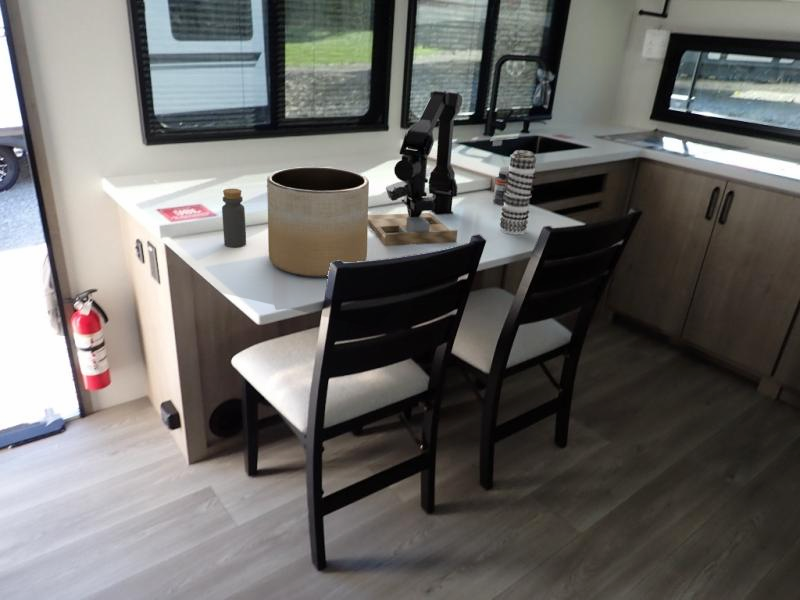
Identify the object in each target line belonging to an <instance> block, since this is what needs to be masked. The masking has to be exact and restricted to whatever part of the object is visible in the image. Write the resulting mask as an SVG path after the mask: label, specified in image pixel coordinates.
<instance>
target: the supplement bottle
mask: <svg viewBox="0 0 800 600" xmlns="http://www.w3.org/2000/svg"><path fill="white" fill-rule="evenodd" d="M508 172H509V171H505V170H504V171H503V170H502V171H499V173H498V177H495V183H494V189H493V190H494V191H493V198H492V201H493V203H494V204H496V203H498V204H497V205H501V204H504V202H505V197H506V195H505V193H504V190H505V185H506V184H507V183H506V181H505V179H506V174H507V173H508Z"/></svg>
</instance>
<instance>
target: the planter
mask: <svg viewBox="0 0 800 600" xmlns="http://www.w3.org/2000/svg"><path fill="white" fill-rule="evenodd" d="M369 185H370V180H369V179H368V178H367V177H366V176H365V175H363V174H361V173H358V172H356V171H355V172H354V171H351V170H346V169H343V168H342V169H341V168H337V167H336V168H335V167H323V166H321V167H320V166H303V167H302V166H300V167H290V168H285V169H281V170H276V171H274V172H272V173H270V174H269V175H268V176H267V179H266V188H267V193H266V194H267V231H268V233H267V235H268V236H267V238H268V239H267V240H268V242H267V243H268V257H269V260H270V262H271V264H273V265H274V266H275V267H277V268H278V269H279V270H282V271H283V272H286V273H288V274H291V275H295V276H300V277H308V278H328V277H327V275H328V271H329V267H330V263H331V262H333V261H337V260H341V261H343V262H357V261H365V260H367V255H368V227H369V225H368V215H369V195H370V194H369V192H370V191H369V189H370V188H369ZM365 262H366V261H365Z"/></svg>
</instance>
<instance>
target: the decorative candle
mask: <svg viewBox="0 0 800 600" xmlns="http://www.w3.org/2000/svg"><path fill="white" fill-rule="evenodd" d="M509 156H510V163H509V165H508V171H507V172H508V173H507V174H506V179H505V181H506V183H507V184H506V185H505V190H504V193H505V195H506V197H505V202H504V205H503V207H502V208H501V210H502V212H500V213H501V214H500V215H501V217H500V218H499V220H500V222H499V228H500V229H499V231H500V230H501V231H500V232H502V231H503V232H502V233H504V232H505V233H504V234H507V233H508V234H507V235H512V234H521V235H524V234H523V233H525V232H526V233H527V230H526V229H528V226H527V224H528V223H529V222H528V218H529V214H530V209H529V208H530V198H532V196H533V194H532V193H531V192H532V191H533V190H534V187H533V186H534V185H536V184H535V182H533V180H536V179H537V176H536V175H537V173H538V171H536V162H537V159H538V157H536V155H535V154H534V152H532V151H529V150H525V149H524V150H523V149H518V150H517V149H516V150H515V151H514V152H513V153H512V154H510V155H509ZM526 233H525V234H526Z"/></svg>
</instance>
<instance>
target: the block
mask: <svg viewBox="0 0 800 600" xmlns="http://www.w3.org/2000/svg"><path fill="white" fill-rule="evenodd" d="M429 226H430V223H429V222H428V221H427V220H426V219H425V218H424V217H407V224H406V231H407V232H423V231H429Z"/></svg>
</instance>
